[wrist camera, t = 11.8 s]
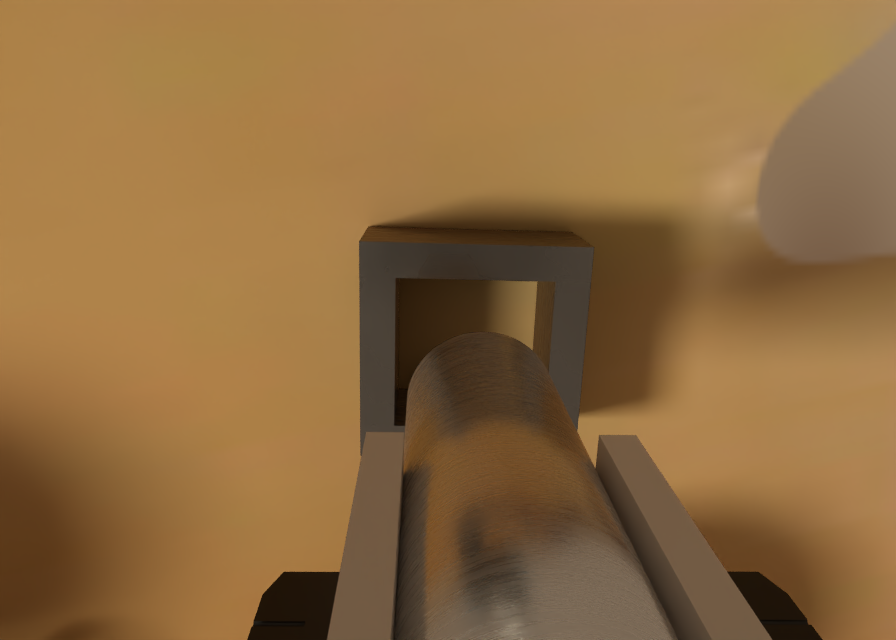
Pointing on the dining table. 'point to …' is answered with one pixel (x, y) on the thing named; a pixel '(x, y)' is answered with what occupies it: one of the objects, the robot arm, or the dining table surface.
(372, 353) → the collar
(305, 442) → the dining table surface
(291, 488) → the dining table surface
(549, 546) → the peg
